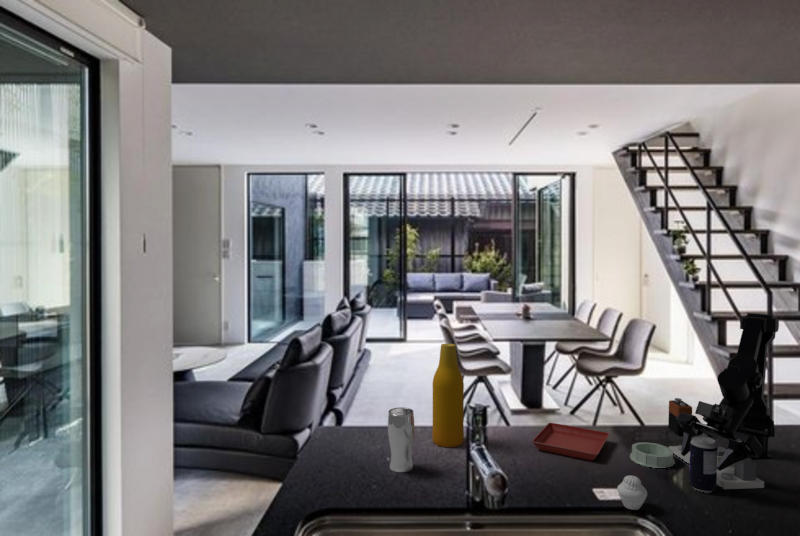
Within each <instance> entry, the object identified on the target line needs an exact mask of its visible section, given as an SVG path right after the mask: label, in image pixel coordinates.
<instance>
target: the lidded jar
mask: <svg viewBox="0 0 800 536" xmlns="http://www.w3.org/2000/svg"><path fill="white" fill-rule="evenodd" d="M617 493H618V496H619V498H620V501H621V502H622V504H623V506H624V507H625V508H626V509H628V510H633V511H638V510H640V509H641V507H642V506H643V504H644V503H645V501H646V498H647V497H648V491H647V489H646V487H644V485H643V484H642V481H641V479H640V478H639V477H638V476H635V475H626V476H624V477H623V480H622V482H621V483H620V484H618V485H617Z"/></svg>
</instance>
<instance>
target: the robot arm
mask: <svg viewBox="0 0 800 536" xmlns="http://www.w3.org/2000/svg"><path fill="white" fill-rule="evenodd" d="M739 323H740V324H739V329H740V330H742V331H741V336H740V340H739V344H738V346H737V347H738V348H737V352H736V355H735V356H734V357H732V358H731V359H729V361H728V363H727V366H726V368H723V370H722V371H721V372H719V374H718V375H717V382H718V383H717V384H718V386H719V389H720V392H721V395H722V399H721V401H720V403H714V404H711V403H707V402H704V401H701V400H699V401H698V403H697V406H696V409H695V413H694V414H696V415H699V416H701V417H702V420H703V422H705V423H706V424H704V423H703V422H701V421H700V419H699V418H698V417H697V416H696V415H693V414H692V415H691V414H688V413H685V412H683V413H680V414H679V415H678V417H677V418H676V420H677V421H678V422H679V424H680V426H681V427H682V428H683V436H682V437H683V438H682V443H681V445H682V449H681V454H682V456H685V455H686V454H687V453H688V452H689V451H690V442H691V440H692V437H694V436H700V435H702V434H703V433H704V434H706V435H711V436H713V437H716V438H719V439H722V440H725V441H727V442H728V445H727V448H726V449H727V450H726V452H725V453H724V455H723V456H722V458H721V460H720V461H719V463H718V465H717V469H718V470H719V471H721V470H723V469H725V468H727V467H729V466H730V465H732V464H734V463H736V462H739V461H741V460H744V459H746V458H749V459H751V460H753V459H772V458H773V457H772V456H773V455H771V454H769V453H768V452H769V451H768V449H769V448H768V447H769V446H768V445H769V439H770V438H774V437H776V431H775V427H776V426H775V421H774V420H773V418H772V417H773V416H772V415H771V414H770V411H771V410H770V407H769V405H768V404H767V403H766V401H765V399H764V396H765V383H766V372H767V371H766V370H767V358H768V347H769V345H771V343H772V342H773V341H774V340H775V339H776V333H778V331H779V328H780V320H779V318H775V316H774V314H771V313H770V314H768V313H753V312H747V313H746V315H744V316H740V320H739Z"/></svg>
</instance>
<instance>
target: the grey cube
mask: <svg viewBox="0 0 800 536" xmlns="http://www.w3.org/2000/svg"><path fill="white" fill-rule="evenodd" d="M726 450H727V448H725V447H723V446H717V456H723V455H724V453H725V452H726Z"/></svg>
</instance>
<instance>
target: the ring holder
mask: <svg viewBox="0 0 800 536" xmlns="http://www.w3.org/2000/svg"><path fill="white" fill-rule="evenodd" d="M629 458H630V460H631V461H632V462H633V461H634V463H635V464H637V465H639V464H640V466H641V467H645V466H646V468H649V467H652V468H651V469H655V468H666V467H671V466H673V465H674V464H675V465H676V461H675V459H674V455H673V450H671V449H670V448H669V446H665V445H662V444H659V443H656V442H655V443H654V442H635V443H633V444H632V445H631V453H629Z"/></svg>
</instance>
